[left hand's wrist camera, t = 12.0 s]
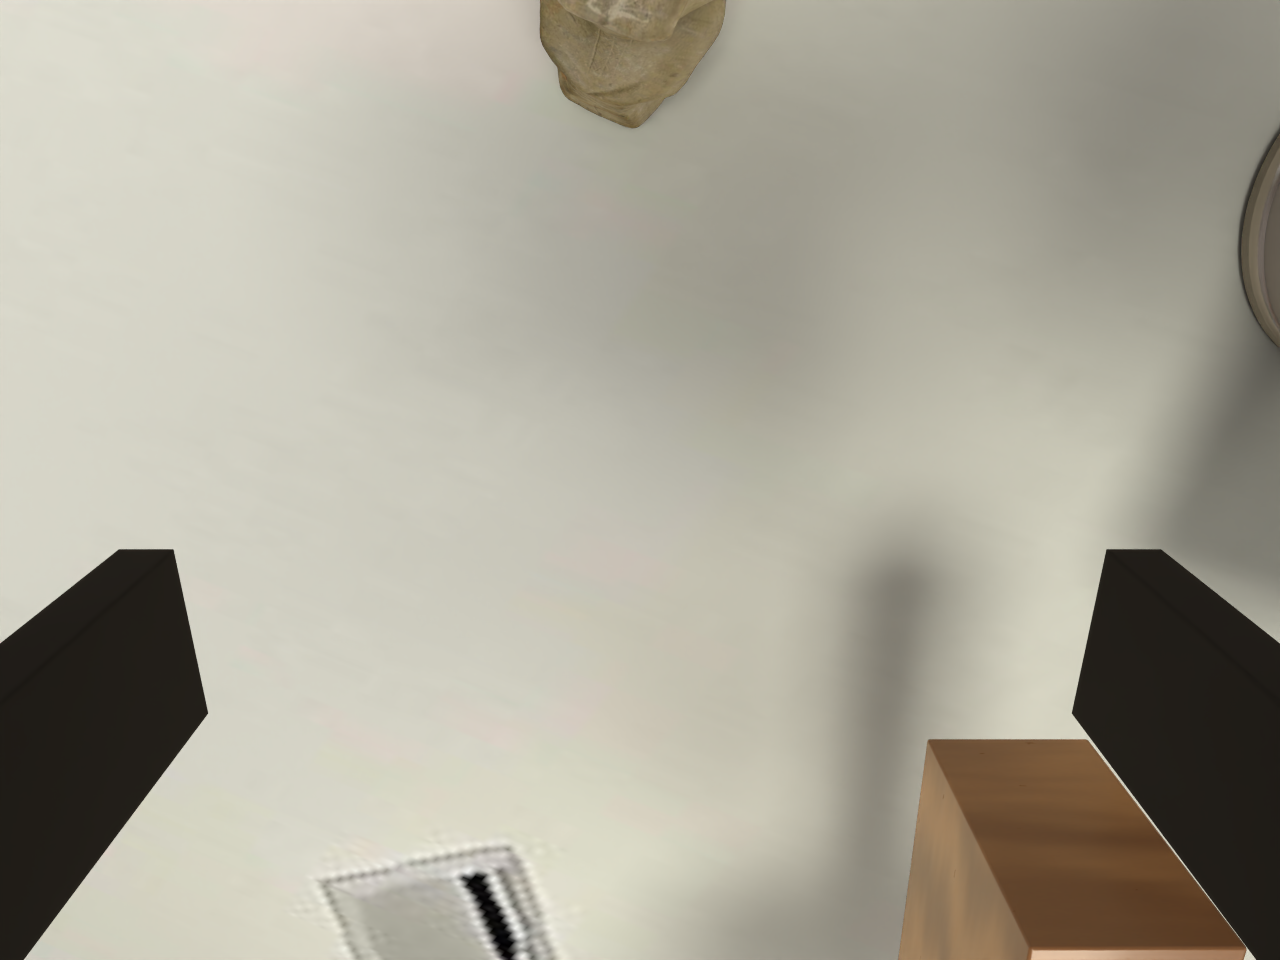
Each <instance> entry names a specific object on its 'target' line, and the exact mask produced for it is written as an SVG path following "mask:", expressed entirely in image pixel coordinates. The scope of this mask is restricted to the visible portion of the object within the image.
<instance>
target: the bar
mask: <svg viewBox="0 0 1280 960" xmlns="http://www.w3.org/2000/svg"><path fill="white" fill-rule="evenodd" d="M1245 953H1246V946H1245V945H1244V944H1243V942H1242V941H1241V940H1240V938H1239V937H1238V936H1237V935H1236V933H1235V932H1234V931H1233V929H1232V928H1231V927H1230V925H1229V924H1228V923H1227V921H1226V920H1225V919H1224V918H1223V916H1222V915H1221V914H1220V912H1219V911H1218V910H1217V908H1216V907H1215V906H1214V904H1213V903H1212V902H1211V901H1210V899H1209V898H1208V897H1207V895H1206V894H1205V893H1204V891H1203V890H1202V889H1201V887H1200V886H1199V885H1198V884H1197V882H1196V881H1195V880H1194V878H1193V877H1192V876H1191V874H1190V873H1189V872H1188V870H1187V869H1186V868H1185V867H1184V865H1183V864H1182V863H1181V861H1180V860H1179V859H1178V857H1177V856H1176V855H1175V853H1174V852H1173V851H1172V849H1171V848H1170V847H1169V846H1168V844H1167V843H1166V842H1165V840H1164V839H1163V838H1162V836H1161V835H1160V834H1159V832H1158V831H1157V830H1156V829H1155V827H1154V826H1153V825H1152V823H1151V822H1150V821H1149V819H1148V818H1147V817H1146V815H1145V814H1144V813H1143V812H1142V810H1141V809H1140V808H1139V806H1138V805H1137V804H1136V802H1135V801H1134V800H1133V798H1132V797H1131V796H1130V795H1129V793H1128V792H1127V791H1126V789H1125V788H1124V787H1123V785H1122V784H1121V783H1120V781H1119V780H1118V779H1117V778H1116V776H1115V775H1114V774H1113V772H1112V771H1111V770H1110V768H1109V767H1108V766H1107V764H1106V763H1105V762H1104V761H1103V759H1102V758H1101V757H1100V755H1099V754H1098V753H1097V751H1096V750H1095V749H1094V747H1093V746H1092V745H1091V744H1090V742H1089V741H1088V740H1086V739H929V740H928V742H927V749H926V757H925V764H924V772H923V779H922V787H921V794H920V802H919V809H918V816H917V824H916V831H915V839H914V846H913V854H912V861H911V869H910V876H909V884H908V891H907V898H906V906H905V913H904V921H903V928H902V936H901V943H900V951H899V958H898V960H1244V956H1245Z"/></svg>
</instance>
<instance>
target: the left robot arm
mask: <svg viewBox="0 0 1280 960" xmlns="http://www.w3.org/2000/svg"><path fill="white" fill-rule="evenodd" d="M1241 261H1242V273H1243V279H1244V284H1245V289H1246V293H1247V296H1248V299H1249V302H1250V305H1251V307H1252V309H1253V312H1254V314H1255V316H1256V318H1257V320H1258V322H1259V323H1260V325H1261V327H1262V328H1263V330H1264V331H1265V332H1266V334H1267V335H1268V336H1269V338H1270V339H1271V340H1272V341H1273V342H1274V343H1275V344H1276V345H1277V346H1278V347H1279V348H1280V134H1279V135H1278V137H1277V139H1276V140H1275V142H1274V144H1273V145H1272V147H1271V148H1270V150H1269V152H1268V154H1267V156H1266V158H1265V160H1264V162H1263V164H1262V166H1261V168H1260V171H1259V173H1258V176H1257V178H1256V181H1255V183H1254V186H1253V189H1252V192H1251V195H1250V198H1249V201H1248V205H1247V210H1246V214H1245V219H1244V225H1243V232H1242V245H1241ZM207 714H208V710H207V706H206V701H205V696H204V691H203V687H202V682H201V677H200V673H199V668H198V663H197V658H196V654H195V649H194V644H193V640H192V635H191V630H190V625H189V621H188V616H187V611H186V606H185V602H184V597H183V592H182V588H181V583H180V578H179V573H178V569H177V564H176V559H175V554H174V550H173V549H119V550H118V551H116V552H115V553H114V554H113V555H111V556H110V557H109V558H108V559H106V560H105V561H104V562H102V563H101V564H100V565H99V566H97V567H96V568H95V569H94V570H92V571H91V572H90V573H89V574H87V575H86V576H85V577H84V578H82V579H81V580H80V581H79V582H77V583H76V584H75V585H73V586H72V587H71V588H70V589H68V590H67V591H66V592H65V593H63V594H62V595H61V596H60V597H58V598H57V599H56V600H55V601H53V602H52V603H51V604H49V605H48V606H47V607H46V608H44V609H43V610H42V611H41V612H39V613H38V614H37V615H36V616H34V617H33V618H32V619H31V620H29V621H28V622H27V623H26V624H24V625H23V626H22V627H20V628H19V629H18V630H17V631H15V632H14V633H13V634H12V635H10V636H9V637H8V638H7V639H5V640H4V641H3V642H2V643H0V960H24V959H25V957H26V956H27V955H28V953H29V952H30V951H31V949H32V948H33V947H34V945H35V944H36V943H37V941H38V940H39V939H40V937H41V936H42V935H43V933H44V932H45V931H46V929H47V928H48V927H49V925H50V924H51V923H52V921H53V920H54V919H55V917H56V916H57V915H58V913H59V912H60V911H61V909H62V908H63V907H64V905H65V904H66V903H67V901H68V900H69V899H70V897H71V896H72V895H73V893H74V892H75V891H76V889H77V888H78V887H79V885H80V884H81V883H82V881H83V880H84V879H85V877H86V876H87V874H88V873H89V872H90V870H91V869H92V868H93V866H94V865H95V864H96V862H97V861H98V860H99V858H100V857H101V856H102V854H103V853H104V852H105V850H106V849H107V848H108V846H109V845H110V844H111V842H112V841H113V840H114V838H115V837H116V836H117V834H118V833H119V832H120V830H121V829H122V828H123V826H124V825H125V824H126V822H127V821H128V820H129V818H130V817H131V816H132V814H133V813H134V812H135V810H136V809H137V808H138V806H139V805H140V804H141V802H142V801H143V800H144V798H145V797H146V796H147V794H148V793H149V792H150V790H151V789H152V788H153V786H154V785H155V784H156V782H157V781H158V780H159V778H160V777H161V776H162V774H163V773H164V772H165V770H166V769H167V768H168V766H169V765H170V764H171V762H172V761H173V760H174V758H175V757H176V756H177V754H178V753H179V752H180V750H181V749H182V748H183V746H184V745H185V744H186V742H187V741H188V740H189V738H190V737H191V736H192V734H193V733H194V732H195V730H196V729H197V728H198V726H199V725H200V724H201V722H202V721H203V720H204V718H205V717H206V716H207ZM1072 714H1073V716H1074V717H1075V718H1076V720H1077V721H1078V722H1079V724H1080V725H1081V726H1082V728H1083V729H1084V730H1085V732H1086V733H1087V734H1088V736H1089V737H1090V738H1091V740H1092V741H1093V742H1094V744H1095V745H1096V746H1097V748H1098V749H1099V750H1100V752H1101V753H1102V754H1103V756H1104V757H1105V758H1106V760H1107V761H1108V762H1109V764H1110V765H1111V766H1112V768H1113V769H1114V770H1115V772H1116V773H1117V774H1118V776H1119V777H1120V778H1121V780H1122V781H1123V782H1124V784H1125V785H1126V786H1127V788H1128V789H1129V790H1130V792H1131V793H1132V794H1133V796H1134V797H1135V798H1136V800H1137V801H1138V802H1139V804H1140V805H1141V806H1142V808H1143V809H1144V810H1145V812H1146V813H1147V814H1148V816H1149V817H1150V818H1151V820H1152V821H1153V822H1154V824H1155V825H1156V826H1157V828H1158V829H1159V830H1160V832H1161V833H1162V834H1163V836H1164V837H1165V838H1166V840H1167V841H1168V842H1169V844H1170V845H1171V846H1172V848H1173V849H1174V850H1175V852H1176V853H1177V854H1178V856H1179V857H1180V858H1181V860H1182V861H1183V862H1184V864H1185V865H1186V866H1187V868H1188V869H1189V870H1190V872H1191V873H1192V874H1193V876H1194V877H1195V879H1196V880H1197V881H1198V883H1199V884H1200V885H1201V887H1202V888H1203V889H1204V891H1205V892H1206V893H1207V895H1208V896H1209V897H1210V899H1211V900H1212V901H1213V903H1214V904H1215V905H1216V907H1217V908H1218V909H1219V911H1220V912H1221V913H1222V915H1223V916H1224V917H1225V919H1226V920H1227V921H1228V923H1229V924H1230V925H1231V927H1232V928H1233V929H1234V931H1235V932H1236V933H1237V935H1238V936H1239V937H1240V939H1241V940H1242V941H1243V943H1244V944H1245V945H1246V947H1247V948H1248V949H1249V951H1250V952H1251V953H1252V955H1253V956H1254V957H1255V959H1256V960H1280V643H1278V642H1277V641H1276V640H1275V639H1273V638H1272V637H1271V636H1270V635H1268V634H1267V633H1266V632H1265V631H1263V630H1262V629H1261V628H1260V627H1258V626H1257V625H1256V624H1254V623H1253V622H1252V621H1251V620H1249V619H1248V618H1247V617H1246V616H1244V615H1243V614H1242V613H1241V612H1239V611H1238V610H1237V609H1236V608H1234V607H1233V606H1232V605H1231V604H1229V603H1228V602H1227V601H1225V600H1224V599H1223V598H1222V597H1220V596H1219V595H1218V594H1217V593H1215V592H1214V591H1213V590H1212V589H1210V588H1209V587H1208V586H1207V585H1205V584H1204V583H1203V582H1201V581H1200V580H1199V579H1198V578H1196V577H1195V576H1194V575H1193V574H1191V573H1190V572H1189V571H1188V570H1186V569H1185V568H1184V567H1183V566H1181V565H1180V564H1179V563H1178V562H1176V561H1175V560H1174V559H1172V558H1171V557H1170V556H1169V555H1167V554H1166V553H1165V552H1164V551H1162V550H1161V549H1107V550H1106V554H1105V559H1104V564H1103V569H1102V573H1101V578H1100V583H1099V588H1098V592H1097V597H1096V602H1095V606H1094V611H1093V616H1092V621H1091V625H1090V630H1089V635H1088V640H1087V644H1086V649H1085V654H1084V658H1083V663H1082V668H1081V673H1080V677H1079V682H1078V687H1077V691H1076V696H1075V701H1074V706H1073V710H1072Z"/></svg>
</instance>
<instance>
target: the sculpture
mask: <svg viewBox="0 0 1280 960" xmlns="http://www.w3.org/2000/svg"><path fill="white" fill-rule="evenodd" d="M725 3H726V0H540V38H541V42H542V45H543V47H544V48H545V50H546V52H547V53H548V55H549V57H550V58H551V60H552V61H553V62H554V63H555V65H556V66H557V67H558V75H559V83H560V87H561V90H562V92H563V94H564V95H565V96H566V97H567V98H568V99H569V100H571V101H573V102H574V103H576V104H578V105H580V106H582V107H583V108H585V109H587V110H589V111H591V112H593V113H595V114H597V115H599V116H601V117H604V118H606V119H608V120H611V121H613V122H616V123H618V124H620V125H623V126H625V127H629V128H636V127H639V126H640V125H641V124H642V123H644V122H645V121H646V120H647V119H648V118H649V116H650V115H651V114H652V113H653V112H654V111H655V110H656V109H657V108H658V107H659V105H660V104H661V103H662V101H663V100H664V99H665V98H666V97H669V96H672V95H674V94H675V93H677V92H678V91H679V90H680V88H681V87H682V86H683V85H684V84H685V83H686V82H687V80H688V78H689V77H690V75H691V73H692V72H693V70H694V69H695V67H696V65H697V64H698V63H699V61H700V60H701V59H702V57H703V56H704V55H705V53H706V52H707V51H708V49H709V48H710V47H711V45H712V44H713V42H714V41H715V39H716V38H717V36H718V34H719V32H720V30H721V27H722V24H723V20H724V15H725Z"/></svg>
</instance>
